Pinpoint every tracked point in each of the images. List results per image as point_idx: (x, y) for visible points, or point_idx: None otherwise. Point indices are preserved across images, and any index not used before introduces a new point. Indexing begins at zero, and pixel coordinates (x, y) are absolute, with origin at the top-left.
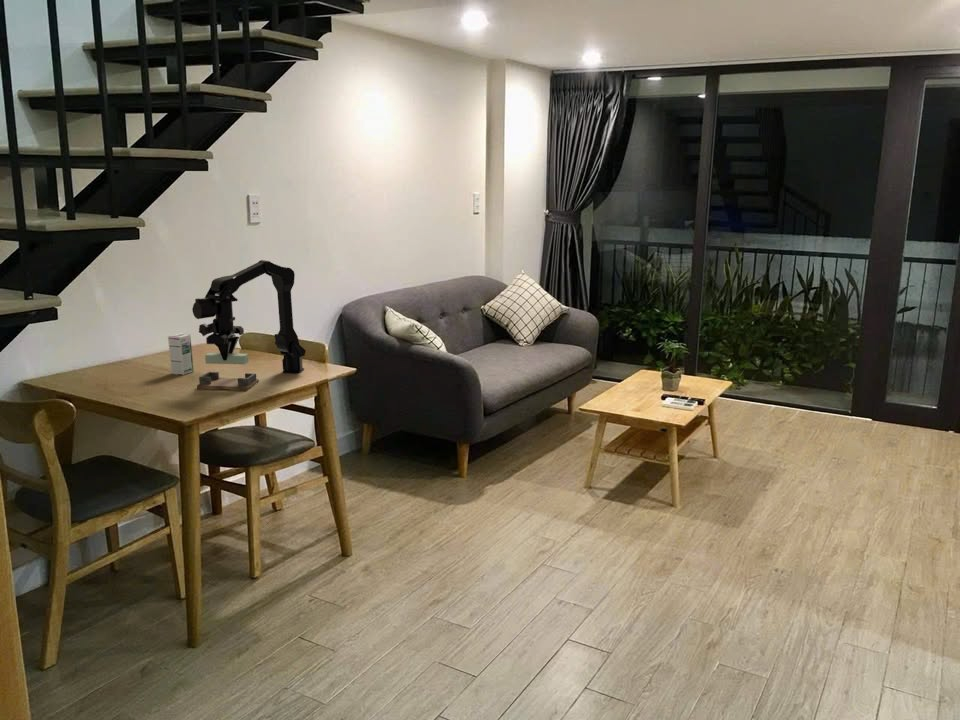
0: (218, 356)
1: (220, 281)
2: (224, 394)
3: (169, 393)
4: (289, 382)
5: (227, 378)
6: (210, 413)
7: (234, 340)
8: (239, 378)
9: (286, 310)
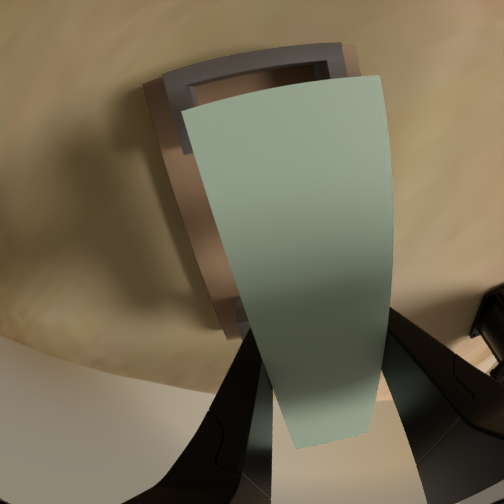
0: (249, 310)
1: None
2: (132, 281)
3: (35, 41)
4: None
5: None
6: (7, 336)
7: (431, 491)
8: (242, 330)
9: None
